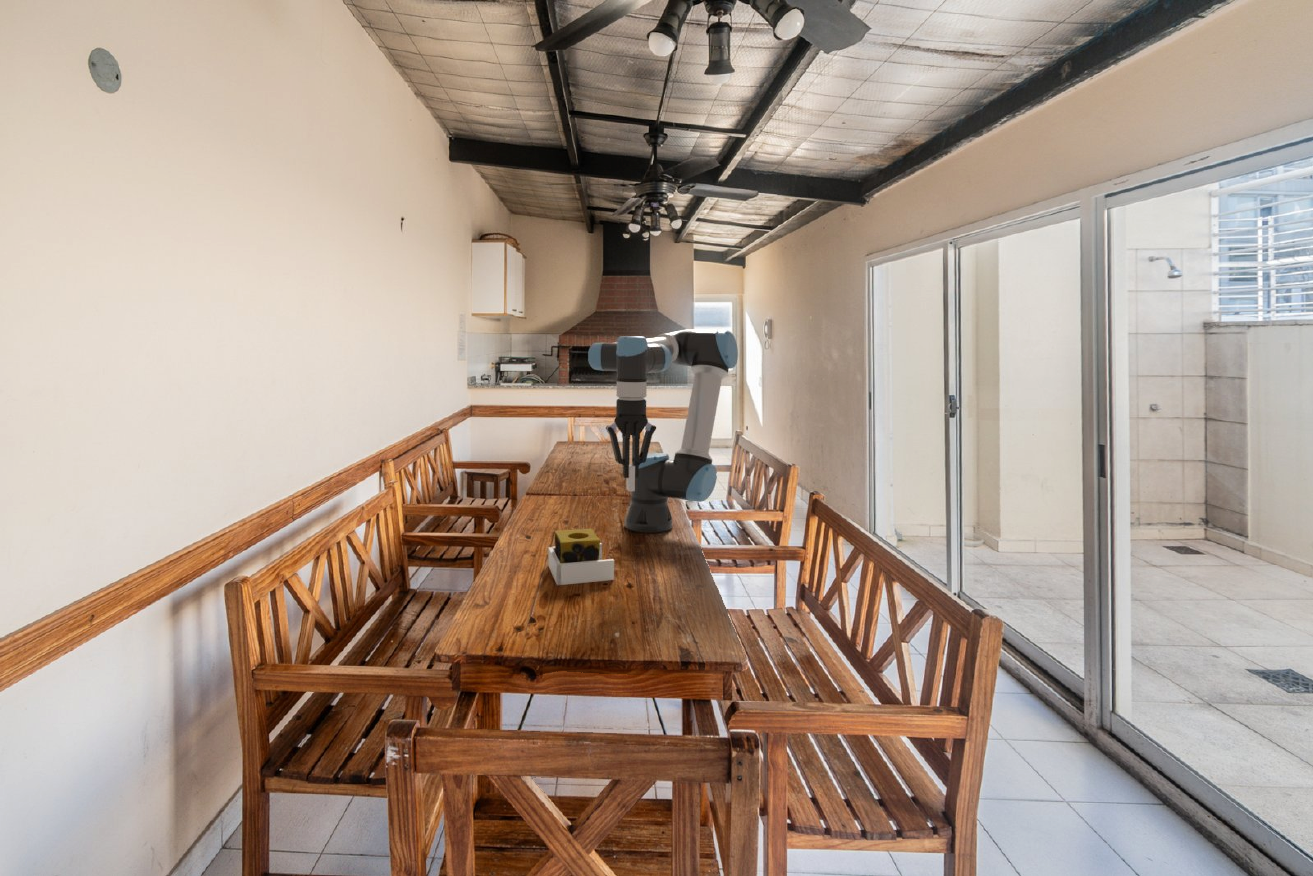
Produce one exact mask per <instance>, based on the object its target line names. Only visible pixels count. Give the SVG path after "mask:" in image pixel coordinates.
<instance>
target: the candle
mask: <svg viewBox="0 0 1313 876" xmlns="http://www.w3.org/2000/svg"><path fill="white" fill-rule="evenodd" d="M600 543H601V539H600V538H599V537H598V536H597V535H596V533H595V531H594V529H593V528H583V529H582V528H578V529H563V530H562V529H561V530H559V529H558V530H555V531H554V544H555V545H554V547H555V553H556V555H557V557H558V559H559V561H560V563H573V562H584V561H596V560H599V551H600Z"/></svg>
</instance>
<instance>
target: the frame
mask: <svg viewBox="0 0 1313 876" xmlns="http://www.w3.org/2000/svg"><path fill="white" fill-rule="evenodd" d="M547 548H548V549H547V551H548V552H547V557H548V558H547V559H548V560H547V564H548V566H547V567H548V568H549V571H550V572H551V574H552V577H553V579H554V581H555V582H554V583H555V584H556V585H557V586H564V585H574V584H575V585H576V584H584V583H592V582H593V583H594V582H595V583H596V582H605V581H614V580H615V560H614V558H611V559H610V558H608V559H603V543H602V542H600V551H599V560H596V561H584V562H573V563H560V561H559V559H558V557H557V555H556V553H555V546H548V547H547Z"/></svg>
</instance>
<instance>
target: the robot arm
mask: <svg viewBox="0 0 1313 876" xmlns="http://www.w3.org/2000/svg"><path fill="white" fill-rule="evenodd" d="M587 353H588V354H587V355H588V356H587V357H588V359H587V361H588V364H589V365H590V367H591V368H592V369H593V370H596V371H602V372H604V371H605V372H607V371H608V372H609V371H610V372H616V397H617V398H618V399H616V403H615V405H616V406H615V407H616V409H615V410H616V411H615V413H616V416H615V418H614V422H613V423H612V424H610V425H606V427H605V430H606V432H607V433H608V435H609V438H610V442H611V446H612V451H613V454H614V459H615V462H616V463H618V465H619V464H620V465H622V477H623V478H624V479H625V482H626V483H625V488H626V489H625V490H626V491H628V492H630V503H629V507H628V509H627V513H626V515H625V518H624V526H625V528H626V529H627V530H628V531H629V530H630V531H633V532H637V533H645V534H647V533H648V534H653V533H654V534H655V533H656V534H657V533H662V532H663V533H664V532H666V531H669V530H672V529H673V517H672V513H671V510H670V506H669V501H668V499H670V498H671V499H677V500H683V501H688V502H699V503H700V502H701V503H702V502H705V501H707V500H708V499H709V498H710V496H711V495H712V493H713V492H714V489H715V486H716V482H717V479H718V478H717V477H718V475H717V473H718V472H717V471H718V470H717V468H716V466H715V465H714V464H713V459H712V457H711V456H710V454H709V453H710V447H711V442H712V436H713V433H714V432H713V431H714V426H715V425H714V424H715V419H716V414H717V410H718V409H717V407H718V403H719V397H720V392H721V387H722V381H723V379H725V378H726V377H727V376H729V375H728V374H729V369H734V368H735V367H736V365H737V363H738V358H739V356H738V355H739V353H738V344H737V340H736V338H735V336H734V334H733V333H732V332H731V331H730V330H725V329H682V330H677V331H671V332H667V333H661V334H658V335H657V336H655V337H651V338H646V337H645V336H637V335H636V336H630V335H629V336H628V335H625V336H624V335H623V336H622V335H621V336H619V337H617V341H615V342H595V343H593V344H592V345H591V346H589V349H588V352H587ZM671 365H677V366H685V367H691V368H690V370H691V372H692V373H693V374H694V377H693V383H692V388H691V393H690V398H689V405H688V409H687V415H686V419H685V420H686V421H685V426H684V430H683V436H682V440H681V441H682V443H681V448H680V449H679V450H677V451H676V452H675V453H674V457H673V459H670V455H669V454H668V453H665V452H659V453H658V452H657V453H656V452H654V453H649V451H650V446H651V442H652V438H653V434H654V433H655V431H656V430H657V426H656V425H654V424H652V423H649V420H648V418H647V400H646V399H645V398H646V397H647V395H648V394H647V379H648V378H647V375H648V374H653V373H654V374H659V373H661V372H662V373H663V372H664V371H666V370H667V369H668V368H670V366H671ZM617 429H618V430H619V431H620V434H621V438H622V446H621V447H622V450H621V449H620V444H619V439H618V436H617V434H616V433H617V431H618V430H617ZM644 429H645V432H644V436H643V440H642V444H641V448H640V439H641V433H642V432H643V430H644ZM631 438H632V439H631ZM630 440H631V441H630ZM630 445H631V449H630ZM630 450H631V451H630ZM621 451H622V452H621ZM630 452H631V453H630ZM630 455H631V459H630ZM630 460H631V463H630Z"/></svg>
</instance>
